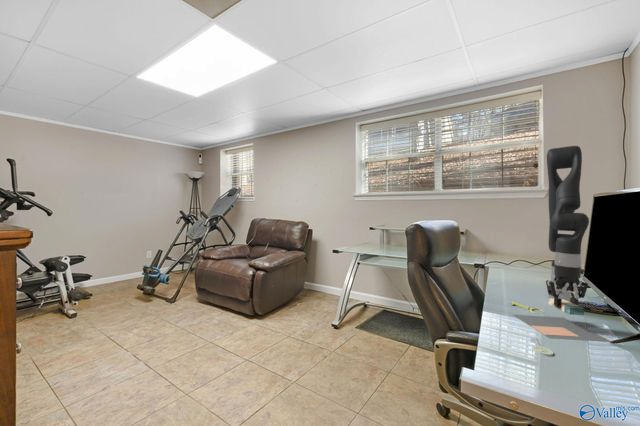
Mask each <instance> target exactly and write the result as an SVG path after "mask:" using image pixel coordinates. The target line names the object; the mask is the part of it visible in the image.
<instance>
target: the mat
mask: <svg viewBox="0 0 640 426" xmlns="http://www.w3.org/2000/svg"><path fill="white" fill-rule="evenodd" d="M512 316H513V317H515V318H517V319H518V320H520V321H522V323H525V324H526V325H528V326H529V327H531V328H532V329H534V330H535V331H537V332H539V333H541V334H542V335H544V336H545V337H546V338H548V339H551V340H552V339H554V340H570V341H571V340H573V341H585V342H586V341H587V342H605V343H613V341H612V340H609V339H607V337H606V338H605V337H603V336H602V335H600V334H597V333H595V332H594V331H591V330H589V329H587V328H586V327H583V326H581V325H580V324H578V323H576V322H574V321H571V320H570V319H567V318H565V317H563V316H562V317H560V316H542V315H527V314H526V315H522V314H512Z"/></svg>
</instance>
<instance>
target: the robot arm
mask: <svg viewBox="0 0 640 426" xmlns="http://www.w3.org/2000/svg"><path fill="white" fill-rule="evenodd" d="M582 163H583V154H582V149H581V147H580V146H578V145H570V146H569V145H568V146H563V147H562V146H561V147H553V148H550V149H548V150H547V153H546V167H547V168H546V169H547V177H548V178H547V179H548V215H549V216H548V217H549V228H548V230H549V231H548V249H549V250H550V252H552V253H555V255H554V259H553V260H551V269H550V280H549V279H547V280H545V284H546V289H547V292H548V293H547V294H548V299H549V298H554V305H555V307H557V308H561V304H562V299H564V300H566V301H569V302H571V303H573V304H576V305H578V306H579V300H580V299H581V298H582V299H584V298H585V297H586V292H587V290H588V287H589V283H588V282H585V281H583V280H582V281H581V280H580V278H581V276H582V275H581V274H582V272H581V271H582V255H581V254H582V242H583V238H584V236H585V233H586V231H587V229H588V227H589V225H590V224H589V223H590V219H589V217H588V215H586V213H584V212H576V210H578V209H580V208H581V205H582V204H581V193H580V192H581V191H580V185H581V176H582V168H583V167H582ZM563 169H570V171H569V173H568V175H567V176H566V177H565V178H564V179H563V180H562V178H561V176H560V175H559V173H558V171H557V170H563ZM559 231H560V232H562V231H563V232H564V231H566V232H573V234H569V233H568V234H567V233H558V232H559ZM555 307H554V308H555ZM557 308H556V309H557Z"/></svg>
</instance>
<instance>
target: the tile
mask: <svg viewBox="0 0 640 426" xmlns="http://www.w3.org/2000/svg"><path fill="white" fill-rule="evenodd" d="M548 305H549V306H551V307H554V308H556V309H558V310H560V311H562V312H563V313H566V314H568V315H574V316H575V315H577V316H584V315H585V307H583V306H580V305H579V304H578V305H576V304H573V303H571V302H569V301H566V300H564V299H562V304H561V308H557V307H555V305H554V298H549V297H548Z"/></svg>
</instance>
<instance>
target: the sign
mask: <svg viewBox="0 0 640 426" xmlns="http://www.w3.org/2000/svg"><path fill="white" fill-rule="evenodd" d="M537 341H538V339H537V340H536V342H537ZM538 342H539V341H538ZM538 344H540V342H539V343H537V345H532V346H531V348H532V349H533V350H534V351H536V352H539V353H541V354H544V355H543V356H545V355H549V356H548V357H552V356H554V352H553V351H552V350H551V349H549V348H547V347H544V346H541V345H540V346H539V345H538ZM532 349H531V350H532ZM533 350H532V351H533ZM534 351H533V352H534ZM536 352H535V353H536ZM541 354H540V355H541Z"/></svg>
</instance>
